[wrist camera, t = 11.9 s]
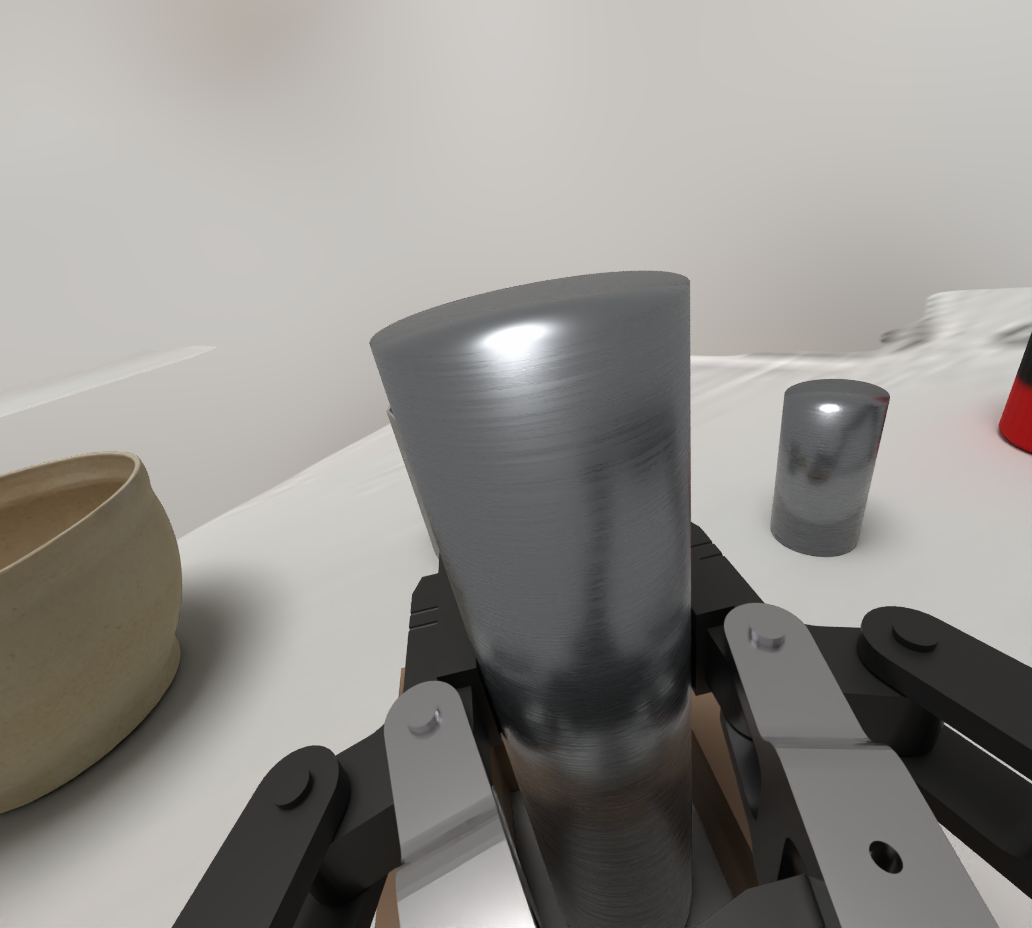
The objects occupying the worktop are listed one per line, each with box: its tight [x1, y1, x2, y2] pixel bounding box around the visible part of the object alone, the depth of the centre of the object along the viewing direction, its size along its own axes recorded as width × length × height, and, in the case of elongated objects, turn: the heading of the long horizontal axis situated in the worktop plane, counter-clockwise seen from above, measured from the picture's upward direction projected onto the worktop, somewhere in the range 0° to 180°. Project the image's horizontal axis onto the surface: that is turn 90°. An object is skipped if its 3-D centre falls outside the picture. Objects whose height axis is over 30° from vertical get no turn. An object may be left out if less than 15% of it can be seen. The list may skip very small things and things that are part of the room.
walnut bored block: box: [375, 668, 759, 928], centre depth 13 cm, size 12×12×4 cm
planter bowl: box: [0, 451, 182, 814], centre depth 21 cm, size 16×16×11 cm
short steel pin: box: [771, 379, 890, 557], centre depth 23 cm, size 4×4×8 cm
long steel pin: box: [370, 271, 692, 928], centre depth 10 cm, size 4×4×16 cm
